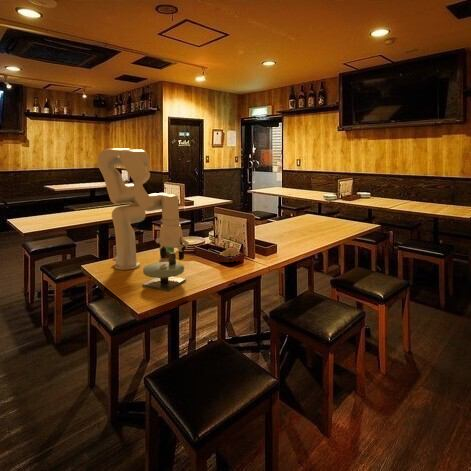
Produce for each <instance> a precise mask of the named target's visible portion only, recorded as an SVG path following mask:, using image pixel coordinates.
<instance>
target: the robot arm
mask: <svg viewBox="0 0 471 471" xmlns="http://www.w3.org/2000/svg"><path fill="white" fill-rule="evenodd" d="M150 162H151V160H150V156H149V154H148V152H147V151H145V150H143V149H135V148H120V147H119V148H118V147H117V148H116V147H115V148H114V147H112V148H109V147H108V148H105V149H102V150H101V151H100V152H98V155H97V166H98V169H99V171H100V172H101V174H102V177H103V179H104V182H105V187H106V190H107V193H108V197H109V200H110V202H111V203H113V204H115V205H121V204H127V205H121V206H117V207H115V208H114V209H113V210H112V213H111V220H112V222H113V227H114V235H115V244H116V245H115V246H116V256H114V257H113V258H112V262H115V264H114V269H116V270H120V271H128V270H135V269H137V268H139V267H140V266H141V262H140V261H137V260H138V259H137V247H136V233H135V229H134V228H133V227H132V224H137V223H140V222H143V221H145V219H146V215H147V214H146V212H152V211H159V210H161V218H160V222H161V223H162V224H160V229H159V237H157V238H156V239H155V242H156V245H157V246H158V249H159V250H160V249H161V257H160V259H165V258H164V257H166V248H165V247H172V248H174V249H178V250H179V251H178V261H182V260H184V258H185V251H186V249H187V248H188V246H189V244H190V243H189V241H187V240H186V239H184V237H183V230H182V227H181V224H180V216H179V215H180V213H179V212H180V211H179V206H180V205H179V197H178V195H177V194H168V193H165V192H159V193H156V192H155V193H150V194H148V192H147V191H146V190H145V188H144V186H143V185H144V184H145V183H147V181H148V180H149V179H150V177H151V172H150V171H149V170H148V168H147V167H148V166H149V164H150ZM120 166H123V168H124V169H125V171H126V172H127V173H128V175H129V176H130V178H131V180H132V181H133V183H124V179H123V176H122V174H121V172H120V171H119V170H118V169H117V168H116V167H120Z"/></svg>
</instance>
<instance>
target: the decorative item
mask: <svg viewBox="0 0 471 471" xmlns="http://www.w3.org/2000/svg"><path fill="white" fill-rule="evenodd" d="M219 254H220V255H223V256H236V255H239V254H241V253H240V251H239V250H237V249H236V248H232V247H229V248H226V249H225V250H223V251H222V252H220V253H219Z"/></svg>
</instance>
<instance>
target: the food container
mask: <svg viewBox="0 0 471 471" xmlns="http://www.w3.org/2000/svg"><path fill="white" fill-rule="evenodd" d="M165 248H166V257H164V258H163V259H169V253H170V252H175V248H172V247H165ZM159 255H160V258H161V249H159Z"/></svg>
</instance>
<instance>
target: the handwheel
mask: <svg viewBox="0 0 471 471" xmlns="http://www.w3.org/2000/svg"><path fill="white" fill-rule="evenodd" d="M176 257H177V255H176V252H175V251H174V252H170V253H169V258H168V261H160V262H159V261H158V262H154V263H150V264H147V265H145V266H144V267H143V269H142V270H143V272H142V273H143V275H144V276H146V277H149V278H152V279H153V278H167V277H178V276H180V275H181V274H183V273H184V272H185V266H184V265H183V264H182V263H179V262H177V258H176Z"/></svg>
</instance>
